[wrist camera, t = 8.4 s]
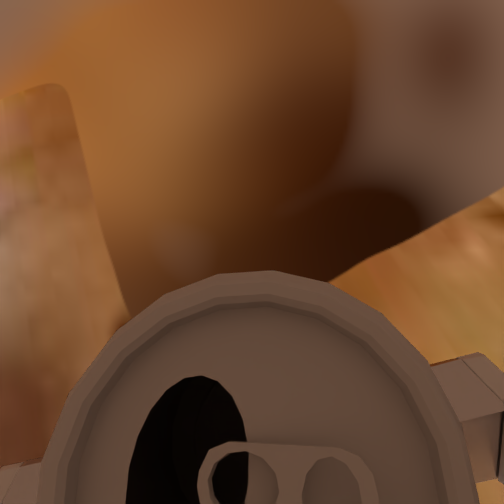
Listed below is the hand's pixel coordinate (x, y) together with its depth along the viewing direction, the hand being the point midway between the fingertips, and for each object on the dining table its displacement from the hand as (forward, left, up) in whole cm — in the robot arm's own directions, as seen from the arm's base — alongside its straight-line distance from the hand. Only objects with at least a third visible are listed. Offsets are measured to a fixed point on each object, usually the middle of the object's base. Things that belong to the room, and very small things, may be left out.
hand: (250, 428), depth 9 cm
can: (0, +1, -9) cm, 9 cm away
